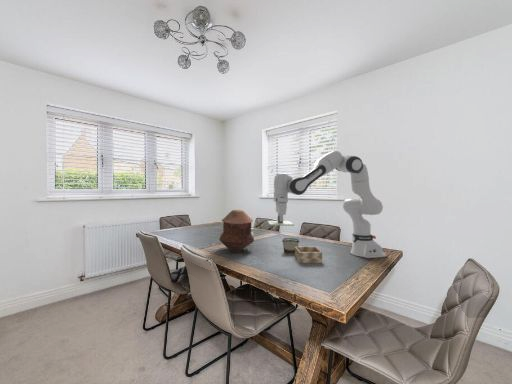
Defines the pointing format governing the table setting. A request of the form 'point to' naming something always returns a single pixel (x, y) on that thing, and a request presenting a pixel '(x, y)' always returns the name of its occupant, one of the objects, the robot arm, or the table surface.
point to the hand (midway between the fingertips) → (280, 220)
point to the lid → (280, 223)
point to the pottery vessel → (236, 231)
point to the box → (308, 255)
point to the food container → (290, 244)
